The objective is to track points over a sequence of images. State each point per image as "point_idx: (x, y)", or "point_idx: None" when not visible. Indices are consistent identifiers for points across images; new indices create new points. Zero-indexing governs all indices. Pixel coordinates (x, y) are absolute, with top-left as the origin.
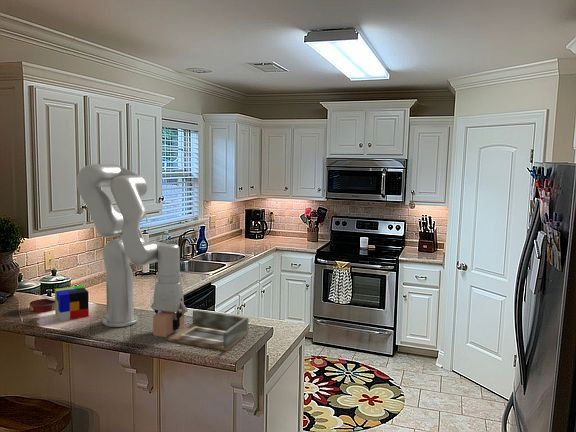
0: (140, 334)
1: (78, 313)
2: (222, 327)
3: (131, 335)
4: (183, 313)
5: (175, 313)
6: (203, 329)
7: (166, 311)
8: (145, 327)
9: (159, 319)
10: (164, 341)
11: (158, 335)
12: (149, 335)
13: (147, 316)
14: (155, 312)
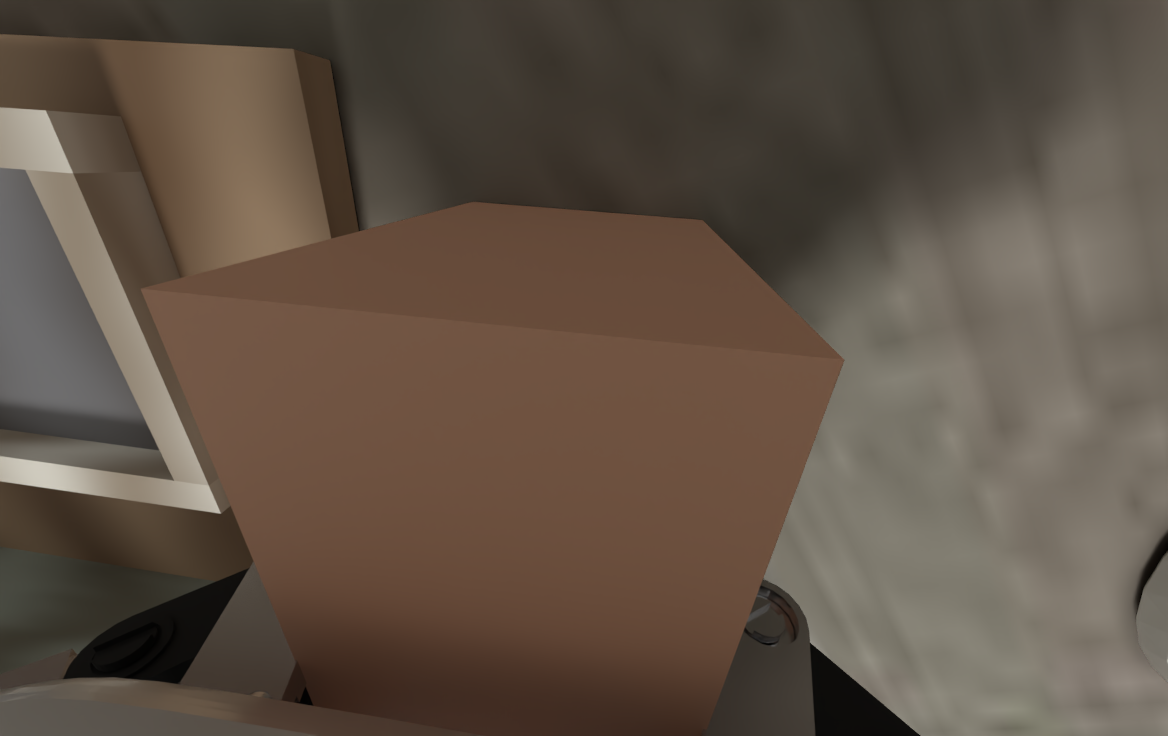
0: (950, 175)
1: None
2: (77, 567)
3: (1147, 50)
4: (16, 676)
5: (200, 665)
6: (88, 460)
7: (389, 725)
8: (947, 463)
9: (496, 285)
10: (368, 7)
11: (600, 213)
12: (761, 187)
13: (1018, 723)
14: (900, 721)
